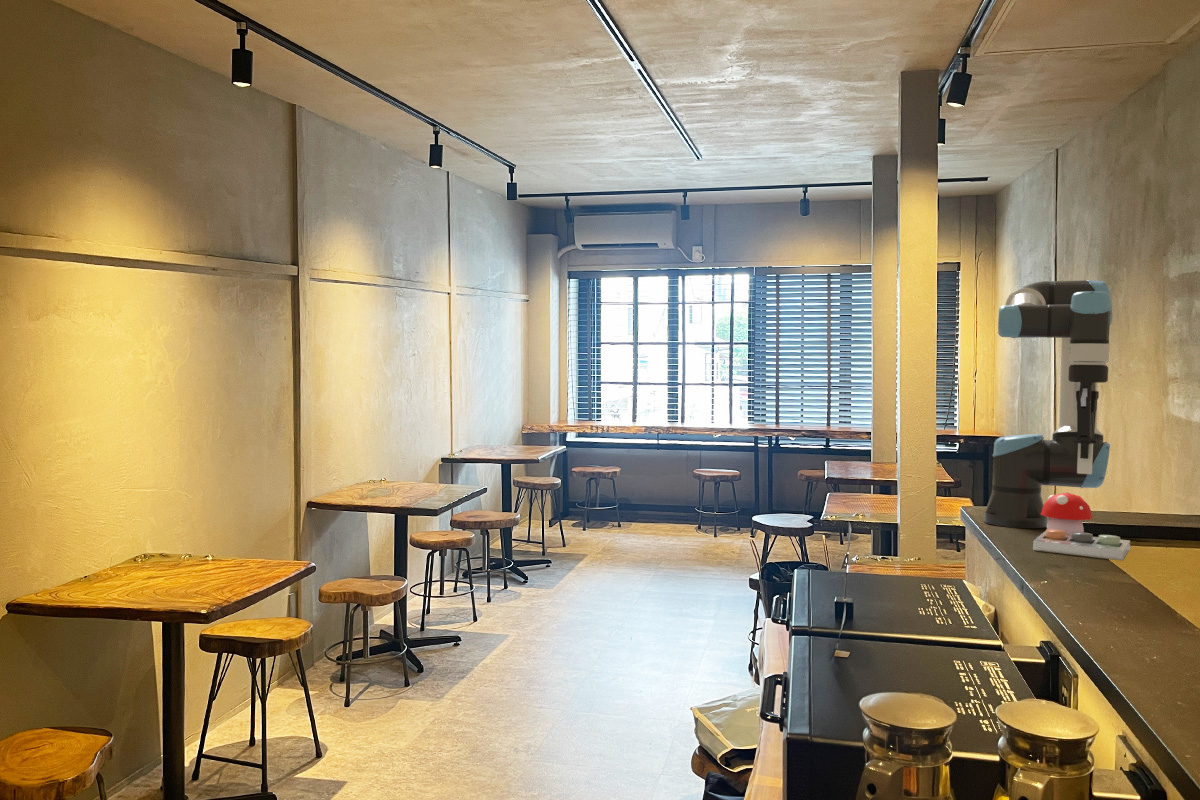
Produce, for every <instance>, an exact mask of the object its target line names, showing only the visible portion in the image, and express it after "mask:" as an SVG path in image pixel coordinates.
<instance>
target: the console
mask: <svg viewBox="0 0 1200 800" xmlns="http://www.w3.org/2000/svg"><path fill="white" fill-rule="evenodd" d="M1045 535H1046V531H1043V532H1042V533H1041V534H1040V535H1038V536H1037V537H1035V539H1034V540H1033V543H1032V550H1033V551H1036V552H1037V551H1038V552H1046V553H1053V554H1055V553H1056V554H1063V555H1072V556H1081V557H1088V558H1098V559H1107V560H1115V561H1123V562H1124V560H1125V558H1126V557H1127V555H1128V554H1129V552H1130V551H1131V540H1129V539H1128V540H1127V539H1120V547H1119V546H1110V545H1101V544H1099V536H1093V540H1092V544H1091V543H1082V542H1073V541H1072V534H1066V541H1064V540H1055V539H1046V538H1045Z"/></svg>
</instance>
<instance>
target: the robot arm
mask: <svg viewBox="0 0 1200 800" xmlns="http://www.w3.org/2000/svg"><path fill="white" fill-rule="evenodd" d="M997 322H998V324H997V326H998V327H997V328H998V329H997V331H998V332H997V333H998V335H999V337H1001V338H1010V339H1011V338H1012V339H1018V338H1019V339H1020V338H1021V339H1022V338H1023V339H1024V338H1049V339H1050V338H1051V339H1052V338H1053V339H1055V338H1057V339H1059V338H1060V339H1061V349H1060V350H1061V351H1060V353H1061V355H1060V357H1061V358H1060V381H1059V382H1060V387H1059V388H1060V390H1059V418H1058V419H1059V422H1058V423H1059V425H1058V428H1057V429H1056V430H1055V431H1053V432H1052V434H1051V435H1052V439H1051V440H1049V439H1048V440H1047V439H1044V437H1045V436H1044V435H1043V434H1041V433H1028V434H1017V435H1016V434H1015V435H1014V434H1013V435H1006V436H1005V435H1004V436H1001V437H1000V436H999V437H998V438H997V439H995V440H994V443H993V453H992V457H993V463H992V484H991V485H992V487H991V495H990V497H989V500H988V502H987V504H986V508H985V510H984V514H983V521H984V523H986V524H989V525H993V526H998V527H999V526H1000V527H1005V528H1015V529H1043V528H1044V529H1045V528H1047V523H1048V519H1049V517H1046V516H1043V515H1041V512H1042V509H1043V506H1044V501H1043V498H1042V486H1051V487H1053V486H1054V487H1068V488H1069V487H1070V488H1080V489H1084V488H1086V489H1087V488H1088V489H1098V488H1100V487H1101V486H1102V485H1103V484H1104V482H1105V478H1106V474H1107V470H1108V464H1109V458H1110V449H1111V443H1109V442H1107V441H1104V434H1103V433H1102V432H1101V431H1100V430H1099V429H1098V400H1099V398H1100V397H1099V395H1100V394H1099V393H1100V392H1099V391H1098V390H1099V388H1098V387H1099V385H1098V384H1099V383H1101V384H1102V383H1105V384H1106V383H1107V382H1109V381H1108V380H1109V367H1108V365H1106V363H1109V362H1110V328H1111V327H1110V326H1111V325H1112V323H1113V305H1112V296H1111V292H1110V288H1109V285H1108V284H1107V283H1106V282H1105V281H1103V280H1089V279H1085V280H1053V281H1052V280H1051V281H1050V280H1043V281H1037V282H1032V283H1028V284H1026V285H1023V286H1020V287H1018V288H1017V289H1015V290H1013V292H1011V293H1010V294H1009V296H1008V297H1007V299H1006V302H1005V304H1004V305H1001V306H999V308H998V319H997Z"/></svg>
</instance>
